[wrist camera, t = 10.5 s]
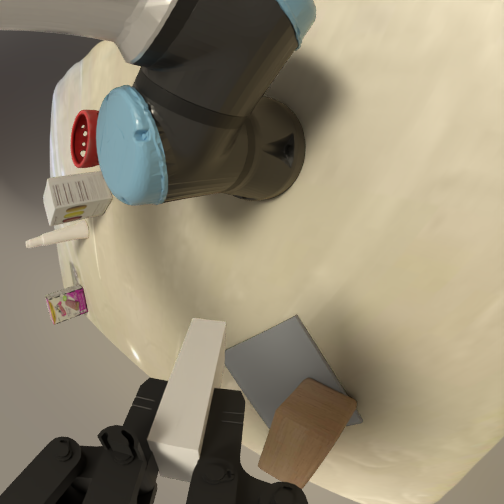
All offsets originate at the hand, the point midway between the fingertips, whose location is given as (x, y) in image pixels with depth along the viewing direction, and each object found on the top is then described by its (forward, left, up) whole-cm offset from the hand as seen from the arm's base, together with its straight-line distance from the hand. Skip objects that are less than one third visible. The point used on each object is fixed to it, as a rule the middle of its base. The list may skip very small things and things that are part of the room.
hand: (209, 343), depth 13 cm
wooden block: (+17, -18, -22) cm, 34 cm away
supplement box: (-47, -52, -28) cm, 75 cm away
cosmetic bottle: (-49, -73, -28) cm, 92 cm away
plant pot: (-49, -33, -28) cm, 65 cm away
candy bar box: (-37, -105, -28) cm, 114 cm away
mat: (+15, -28, -28) cm, 42 cm away
